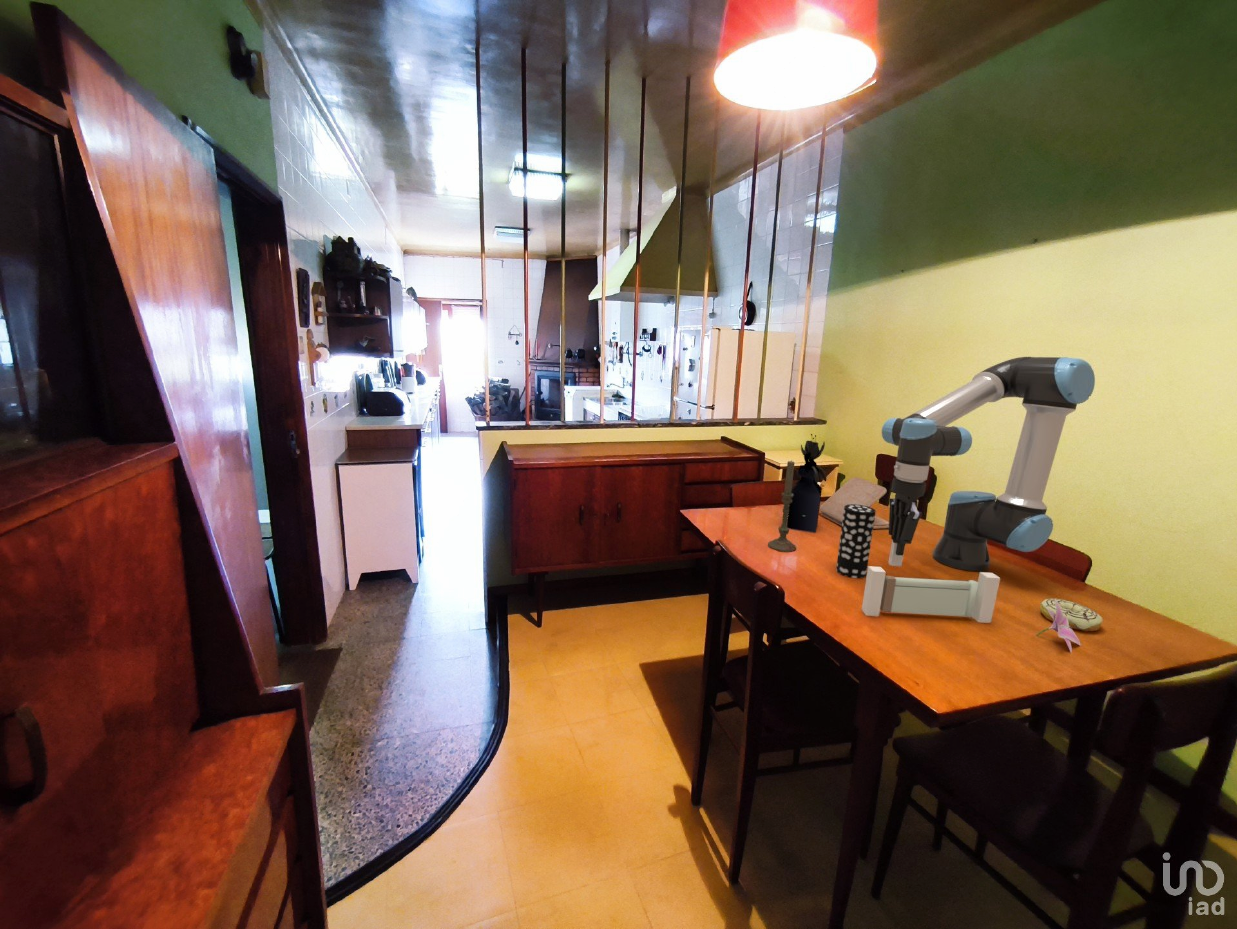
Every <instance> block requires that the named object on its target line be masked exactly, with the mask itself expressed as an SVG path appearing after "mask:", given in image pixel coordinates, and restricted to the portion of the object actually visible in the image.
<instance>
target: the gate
mask: <svg viewBox="0 0 1237 929" xmlns="http://www.w3.org/2000/svg"><path fill="white" fill-rule="evenodd" d="M977 588H978V580H977V581H976V580H974V579H969V580H968V581H967V580H954V579H951V580H950V579H949V580H948V579H934V578H931V579H930V578H916V577H899V576H898V577H895V576H893V575H886V574H885V580H884V586H883V593H882V599H881V605H880V611H881V612H882V613H890V614H891V613H901V614H914V615H916V614H917V615H931V616H933V615H935V616H952V617H967V618H972V613H973V608H974V603H975V598H976V593H977Z"/></svg>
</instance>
